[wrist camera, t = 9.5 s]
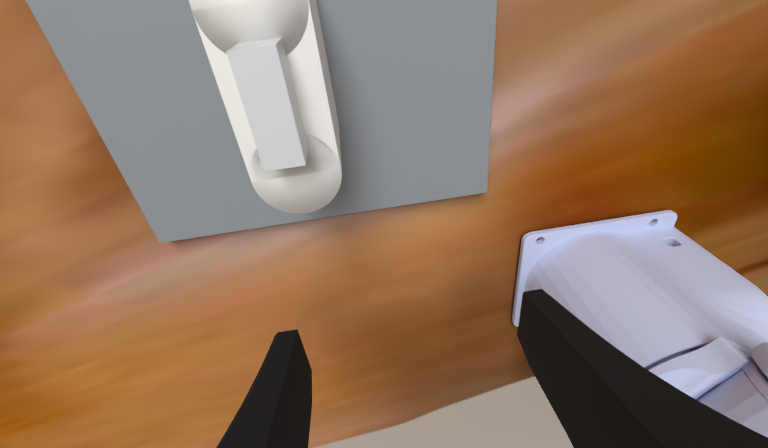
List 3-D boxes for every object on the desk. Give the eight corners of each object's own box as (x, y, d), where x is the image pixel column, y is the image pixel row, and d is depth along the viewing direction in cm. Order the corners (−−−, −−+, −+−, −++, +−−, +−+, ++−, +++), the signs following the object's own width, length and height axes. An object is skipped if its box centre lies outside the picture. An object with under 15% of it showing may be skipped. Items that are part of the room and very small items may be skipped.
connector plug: (305, -61, 13) (287, -89, 8) (344, 152, 17) (350, 228, 12) (219, -50, 13) (141, -70, 8) (280, 162, 17) (258, 243, 12)
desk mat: (499, -228, 12) (510, -241, 11) (481, 185, 20) (486, 192, 20) (-49, -169, 11) (-73, -177, 11) (165, 234, 20) (159, 242, 19)
